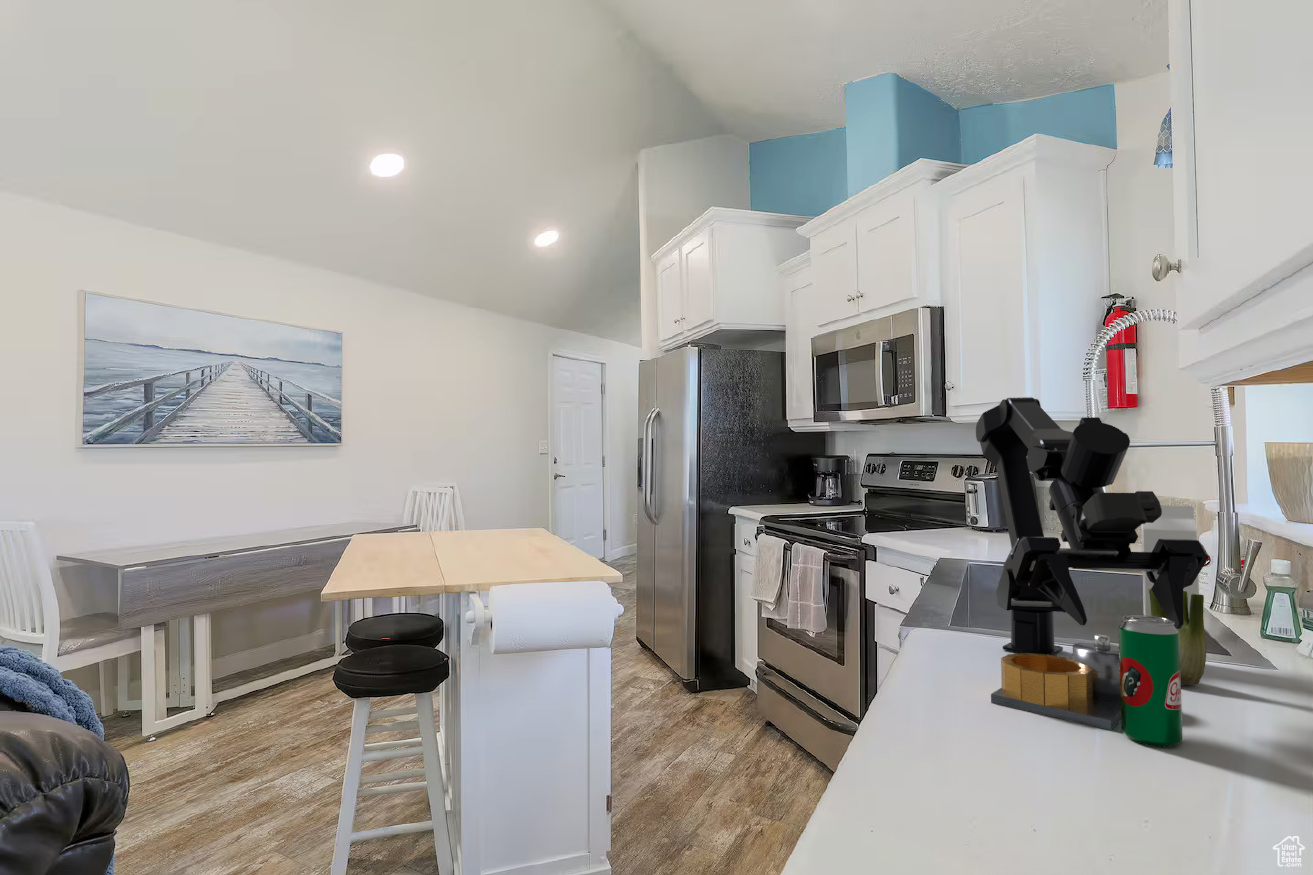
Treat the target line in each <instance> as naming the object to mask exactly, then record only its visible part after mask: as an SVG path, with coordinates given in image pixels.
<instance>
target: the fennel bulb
mask: <svg viewBox="0 0 1313 875" xmlns="http://www.w3.org/2000/svg"><path fill="white" fill-rule="evenodd" d="M1149 594H1150V603H1151V616H1155V617H1161V618H1166V619H1168V617H1167V616H1166V614H1165V612H1164V610H1163V609H1162V607H1161V605H1160V604H1159V602H1158V600H1157V598H1156V597H1155V595H1154V593H1153V592H1152V590H1151V588H1150V589H1149ZM1204 601H1205V597H1204V594H1201V593H1199V594H1194V593H1192V594H1191V601H1190V614H1189V613H1188V597H1187V591H1183V611H1184V624H1183V626H1182V627H1181V629H1177V631H1178V632H1179V637H1180V669H1181V686H1197V685H1199V684H1200V681H1201V679H1202V677H1203V675H1204V673H1205V669H1206V663H1207V662H1206V661H1207V660H1206V659H1207V642H1206V641H1207V640H1206V639H1207V638H1206V634H1205V633H1206V632H1205V631H1206V630H1205V623H1204Z"/></svg>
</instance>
